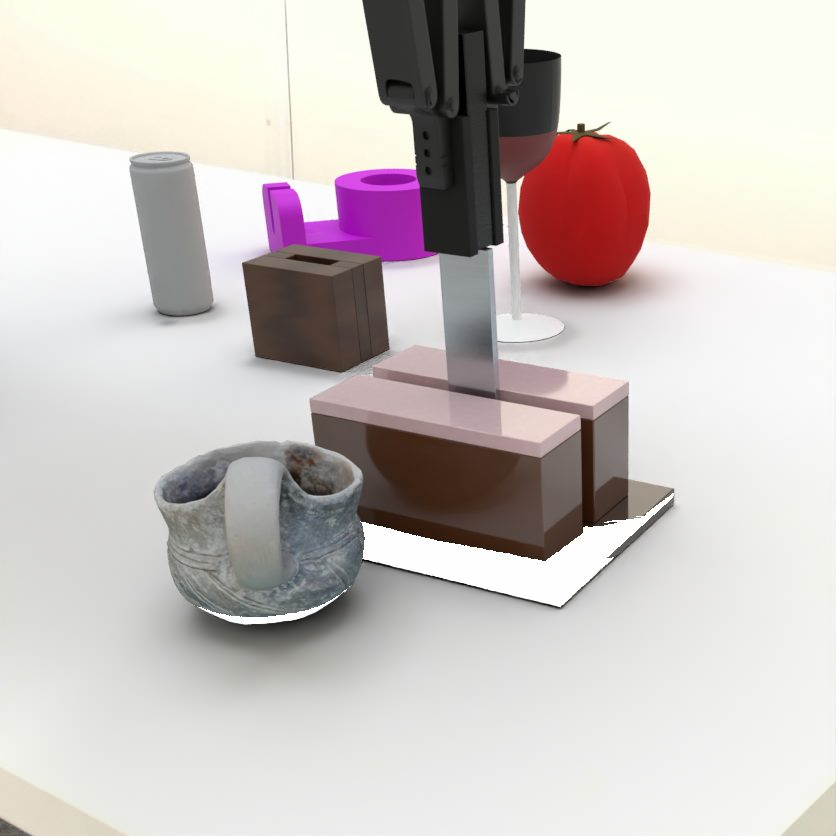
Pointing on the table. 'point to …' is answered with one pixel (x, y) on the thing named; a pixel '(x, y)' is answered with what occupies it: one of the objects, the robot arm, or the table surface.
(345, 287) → the knife block
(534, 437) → the cake
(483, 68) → the knife
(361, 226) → the tape dispenser
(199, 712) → the table surface
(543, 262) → the tomato
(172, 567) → the mug
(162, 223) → the beverage can
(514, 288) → the wineglass
